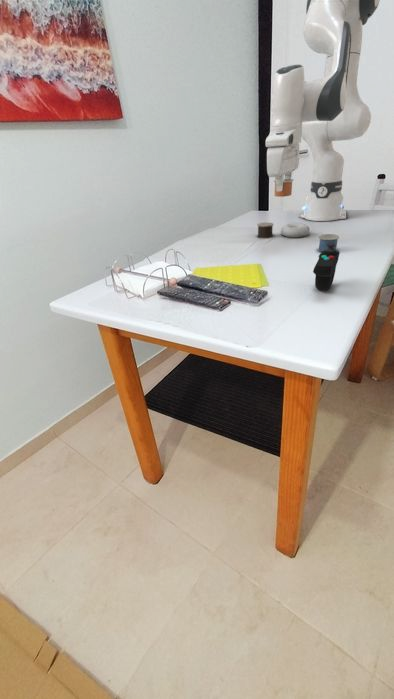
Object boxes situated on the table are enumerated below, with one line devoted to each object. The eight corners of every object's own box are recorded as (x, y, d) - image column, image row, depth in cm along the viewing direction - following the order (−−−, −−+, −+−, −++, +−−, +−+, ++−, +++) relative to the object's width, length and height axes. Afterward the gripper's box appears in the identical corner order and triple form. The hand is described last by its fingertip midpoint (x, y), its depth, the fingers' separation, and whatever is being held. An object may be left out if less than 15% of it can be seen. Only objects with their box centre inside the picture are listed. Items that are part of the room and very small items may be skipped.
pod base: (260, 233, 129) (260, 222, 127) (275, 234, 126) (275, 222, 124) (254, 237, 125) (255, 225, 123) (269, 238, 122) (270, 226, 120)
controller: (336, 281, 84) (342, 241, 78) (328, 301, 75) (334, 257, 69) (318, 280, 85) (323, 240, 80) (308, 299, 76) (313, 255, 71)
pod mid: (276, 193, 110) (277, 178, 107) (294, 193, 107) (295, 178, 105) (271, 196, 105) (271, 181, 103) (289, 196, 103) (290, 181, 100)
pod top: (319, 247, 109) (321, 233, 107) (338, 248, 106) (340, 234, 104) (315, 252, 105) (317, 238, 103) (335, 253, 102) (337, 239, 100)
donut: (281, 239, 121) (310, 238, 119) (281, 229, 119) (311, 228, 117) (280, 232, 129) (308, 231, 127) (281, 223, 127) (308, 221, 125)
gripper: (285, 136, 106) (283, 184, 114) (263, 140, 92) (262, 195, 100) (306, 134, 104) (302, 183, 111) (285, 138, 89) (283, 195, 97)
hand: (283, 189), depth 105 cm, fingers closed on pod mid, 5 cm apart
